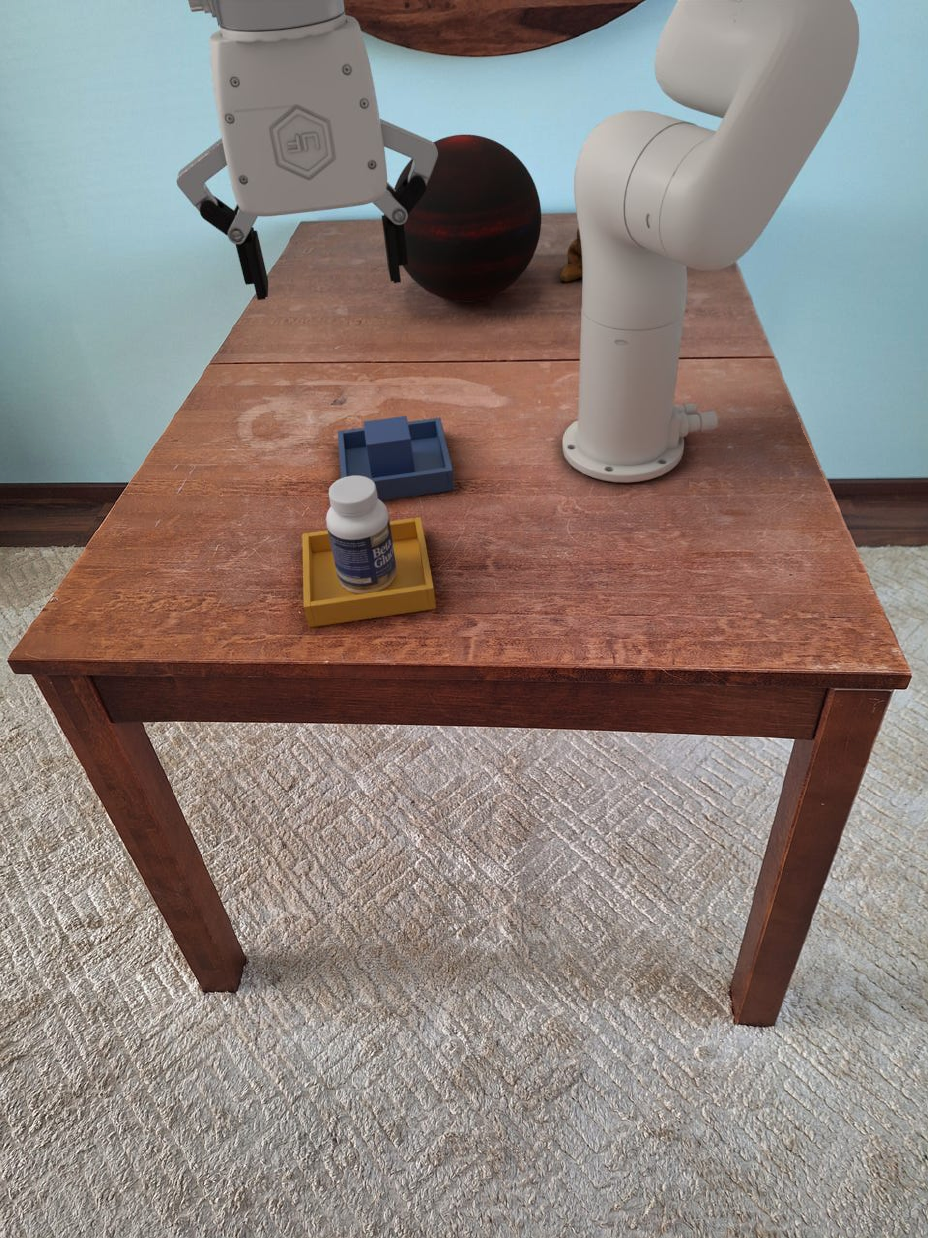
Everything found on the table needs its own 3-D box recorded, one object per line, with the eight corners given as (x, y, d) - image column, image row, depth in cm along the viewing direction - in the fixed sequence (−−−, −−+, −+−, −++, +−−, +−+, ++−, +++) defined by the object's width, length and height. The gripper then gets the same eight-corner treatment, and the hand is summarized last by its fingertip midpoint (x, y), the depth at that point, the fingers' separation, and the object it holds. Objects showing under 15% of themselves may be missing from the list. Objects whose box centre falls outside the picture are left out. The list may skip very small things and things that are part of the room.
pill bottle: (388, 598, 77) (373, 510, 70) (331, 593, 78) (310, 505, 71) (403, 559, 80) (391, 471, 73) (348, 554, 81) (331, 467, 74)
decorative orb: (383, 326, 116) (361, 165, 102) (415, 265, 130) (400, 115, 116) (532, 329, 112) (530, 163, 98) (548, 266, 126) (549, 112, 112)
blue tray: (442, 436, 96) (440, 417, 94) (454, 490, 88) (452, 470, 87) (341, 450, 95) (337, 430, 93) (345, 505, 88) (341, 485, 86)
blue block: (411, 452, 93) (406, 415, 90) (415, 475, 90) (410, 438, 87) (369, 457, 93) (363, 421, 90) (372, 481, 89) (366, 444, 86)
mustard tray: (423, 537, 83) (420, 516, 81) (436, 608, 76) (433, 588, 74) (307, 553, 83) (302, 533, 81) (309, 627, 75) (303, 607, 74)
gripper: (122, 27, 48) (206, 321, 60) (431, -6, 49) (453, 290, 61) (139, 3, 53) (213, 277, 65) (417, -26, 54) (440, 249, 66)
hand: (329, 283), depth 63 cm, fingers open, 9 cm apart
